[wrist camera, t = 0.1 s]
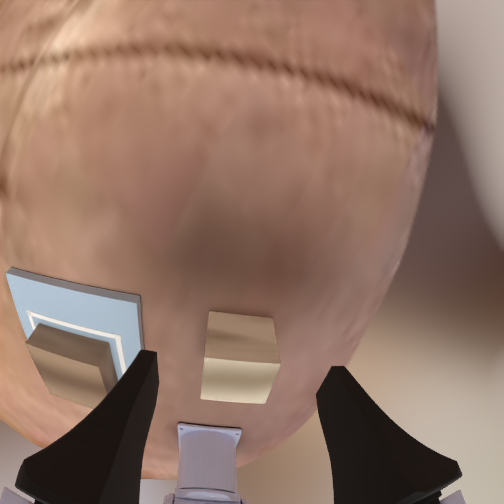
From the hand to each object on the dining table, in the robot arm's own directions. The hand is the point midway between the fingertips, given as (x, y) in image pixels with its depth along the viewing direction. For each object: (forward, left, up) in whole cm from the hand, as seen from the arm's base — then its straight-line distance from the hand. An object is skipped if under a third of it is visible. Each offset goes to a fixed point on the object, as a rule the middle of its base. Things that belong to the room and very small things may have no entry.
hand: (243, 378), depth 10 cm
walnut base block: (-13, +14, -9) cm, 21 cm away
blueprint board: (-13, +14, -10) cm, 22 cm away
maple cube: (-7, -1, -10) cm, 12 cm away
